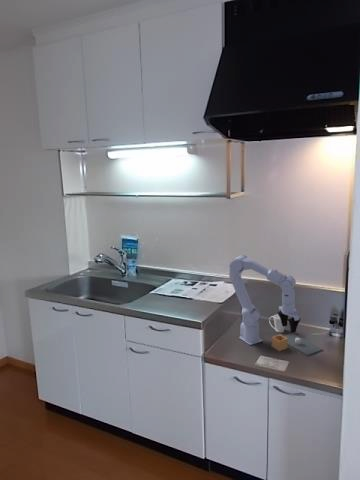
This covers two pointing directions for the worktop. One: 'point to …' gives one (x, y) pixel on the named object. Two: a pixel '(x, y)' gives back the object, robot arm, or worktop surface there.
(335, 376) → the worktop surface
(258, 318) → the robot arm
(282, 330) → the cup
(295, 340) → the plate
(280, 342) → the wooden cube with hole
